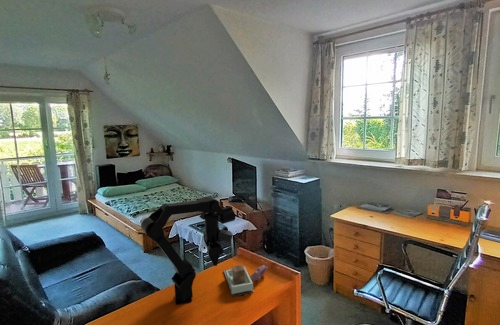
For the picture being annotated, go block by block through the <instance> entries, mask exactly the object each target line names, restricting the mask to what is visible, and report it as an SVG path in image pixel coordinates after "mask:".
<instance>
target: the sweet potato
mask: <svg viewBox="0 0 500 325" xmlns="http://www.w3.org/2000/svg"><path fill="white" fill-rule="evenodd" d="M268 269H269V268H268V266H266V265H264V264H262V265H260V266H258V267H257V268H256V270H255V271H254V272H253V273H252V274H251V275H249V276H250V278H251V280H252V282H253V283H254V282H255V281H258V280H260V279H261V278H262V277H264V274H265V273H266V272H267V270H268Z"/></svg>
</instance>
